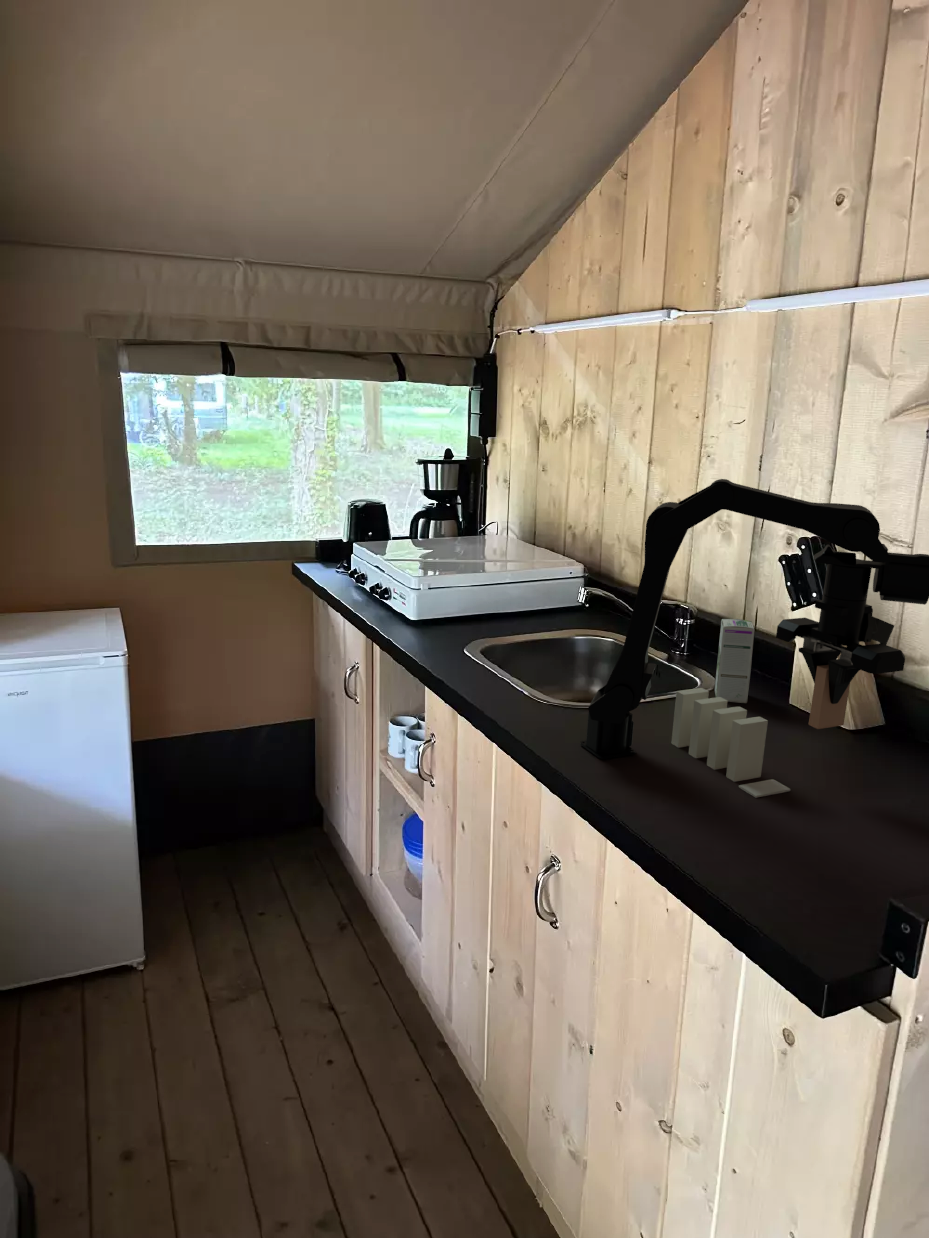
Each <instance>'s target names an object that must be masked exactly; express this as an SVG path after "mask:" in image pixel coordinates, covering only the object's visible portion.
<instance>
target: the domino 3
mask: <svg viewBox="0 0 929 1238" xmlns="http://www.w3.org/2000/svg"><path fill="white" fill-rule="evenodd" d="M747 714H748V710H747V709H745V708H743V707H741V706H732V707H727V708H724V709H717V710H713V714H712V723H711V732H710V741H709V750H708V756H707V759H706V767H707V766H708V767H709V768H711V769H712V770H713V771H715V770H720V769H727V765H728V756H729V748H730V740H731V731H732V723H733V720H739V719H746V718H747Z"/></svg>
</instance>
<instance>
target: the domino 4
mask: <svg viewBox="0 0 929 1238" xmlns="http://www.w3.org/2000/svg"><path fill="white" fill-rule="evenodd" d="M768 723H769V720H767V719H765V718H763V717H762V716H754V717H746V719H739V720H733V723H732V731H731V740H730V748H729V756H728V765H727V768H726V772H725V773H726V775H725V777H726V778H727V779H729V780H730V781H732V782H735V783H736V782H741V781H747V780H751V779H757V778H761V777H762V776H761V775H762V769H763V761H764V756H765V755H764V754H765V748H766V747H765V746H766V737H767V730H768Z"/></svg>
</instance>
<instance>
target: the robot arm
mask: <svg viewBox="0 0 929 1238" xmlns="http://www.w3.org/2000/svg"><path fill="white" fill-rule="evenodd" d="M723 510H726V511H731V512H734V513H738V514H740V515H741V514H742V515H744V516H749V517H753V518H757V519H761V520H765V521H769V522H773V523H776V524H781V525H785V526H788V527H792V528H795V529H800V530H804V531H806V532H808V533H811V534H813V535H814V536H817V537H818V538H820V539H822V540H824V541H826V542H828V543H830V544H832V545H834V546H837V547H839V548H842V549H843V550H844V551H839V550H838V551H837V550H834V549H833V548H832V547H831V545H830V544H826V545H825V547H824V548H823V549H821V550H820V551H818V552H817V553H815V554H814V555H813V558H814V561H815V563H816V564H823V565H827V566H826V572H825V578H824V579H825V580H824V586H823V592H822V599H816V600H815V603H814V608H816V609H818V610H820V614H819V618H818V621H816V620H814V619H810V618H807V617H796V618H786V619H782V620H781V621H780V622H779V623H778V625H777V626H776V634H775V638H776V639H778V640H781V641H784V642H786V643H791V642H793V641H794V640H795V639H796V638H797V637H799V638H800V639H803V643H802V647H798V653H801V655H802V657H803V660H805V663H806V666H807V668H808V670H809V672H810V675H811V678H812V680H813V681H812V682H813V685H814V684H815V677H816V671H817V666H821V665H829V695H830V702H831V703H832V704H837V703H838V702H839V700H840V699H841V697H842V695H843V694H844V692H845V690H846V689H847V687H848V685H849V684H850V685H851V683H852V680H853V679H854V678H855V676H856V675H857V674H858V673H859V671H863V672H866V673H867V674H873V675H879V674H880V675H881V674H887V673H895V672H902V671H904V667H905V663H906V655H905V654H904V652H903V651H902V650H901V649H898V648H896V647H892V646H890V645H888V642H889V639H890V637H891V634H892V632H893V631H894V628H895V625H894V624H892V623H889V622H887V621H885V620H882V619H880V618H877V617H875V616H873V612H874V609H873V605H870V604H867V599H868V593H869V587H870V583H871V581H870V580H871V575H872V574H871V573H872V569H875V570H874V572H873V580H872V592H873V593H876V594H877V593H879V594H878V595H879V599H880V601H885V602H886V601H888V602H896V603H905V604H906V603H907V604H913V605H915V604H918V605H927V604H928V601H929V554H927V553H916V554H912V553H911V554H910V553H899V552H889V549H888V547H887V546H886V545H885V543H882V542H881V540H880V538H879V536H880V533H881V532H880V531H881V527H880V523H879V521H878V519H877V517H876V516H875V514H874V513H873V512H872V511H871V510H870V509H869V508H867V507H865V506H863V505H859V504H850V503H835V502H834V503H833V502H830V503H829V502H825V503H824V502H811V501H806V500H803V499H798V498H794V497H791V496H787V495H783V494H779V493H776V492H772V491H767V490H762V489H759V488H755V487H751V486H746V485H744V484H740V483H739V484H738V483H735V482H733V481H731V480H729V479H726V478H720V479H716V480H714V481H713V482H711V484H710V485H708V486H706V487H704V488H703V489H701V490H699V491H697V492H695V493H693V494H692V495H689V496H687V497H686V498H684V499H682V500H681V501H678V502H675V501H667V502H663V503H661V504H660V505H658V506H656V508H655V509H654V510H653V511H652V512H651V513H650V514H649V515H648V517H647V519H646V522H645V536H644V565H643V569H642V573H641V577H640V580H639V581H640V582H639V585H638V589H637V593H636V597H635V600H634V604H633V608H632V612H631V615H630V620H629V624H628V628H627V632H626V636H625V639H624V643H623V646H622V651H621V652H620V654H619V657H618V659H617V660H616V663H615V665H614V668H613V669H612V671H611V674H610V675H609V677H608V680H607V682H606V684H604V685H603V686H602V687H600V688H599V689H598V690H597V692H595V695H594V696H593V699H592V700H591V702H590V704H589V705H588V707H587V710H588V712H587V715H588V716H587V727H586V738H585V740H581V741H580V746H581V747H583V748H584V749H585V750H587V751H588V752H590V753H591V754H593V755H594V756H595V757H596V758H598V759H601V760H605V759H606V760H607V759H611V758H612V759H614V758H619V757H625V756H631V755H635V754H636V750H635V749H634V748H632V746H633V736H634V724H635V723H634V721H633V713H631V712H632V711H633V710H636V709H637V708H638V707H639V705H640V704H641V701H642V700H644V701H645V700H647V697H648V695H649V693H650V690H651V687H652V683H651V681H652V677H653V675H654V672H655V669H656V667H657V663H653V662H652V663H650V662H649V648H650V645H651V642H652V641H651V640H652V637H653V633H654V630H655V625H656V622H657V619H658V614H659V611H660V607H661V602H662V600H663V595H664V592H665V588H666V586H667V585H666V584H667V580H668V577H669V574H670V569H671V566H672V564H673V562H674V560H675V558H676V555H677V553H678V551H680V547H681V545H682V542H683V541H684V539H685V537H686V535H687V533H688V530H689V529H691V528H693V527H695V526H697V525H699V524H700V523H702V522H703V521H705V520H706V519H708V518H709V517H712V516H713V515H715V514H716V513H718V512H720V511H723ZM845 550H846V551H845ZM847 551H848V552H847ZM859 552H861V554H863V555H864V556H866V557H867V558H868V559H869V560H867V559H859V558H857V553H859ZM872 641H875V642H878V643H874V644H865V645H863V644H860V642H861V643H871V642H872Z"/></svg>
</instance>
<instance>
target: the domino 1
mask: <svg viewBox="0 0 929 1238" xmlns="http://www.w3.org/2000/svg"><path fill="white" fill-rule="evenodd" d="M709 693H710V690H707V689H705V688H704V687H697V688H692V689H682V690H676V694H675V695H676V696H675V704H674V714H673V724H672V734H671V744H672V745H673V746H674V747H676V748H678V749H679V748H685V747H689V745H690V736H691V727H692V717H693V708H694V700H701V699H708V698H709Z"/></svg>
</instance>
